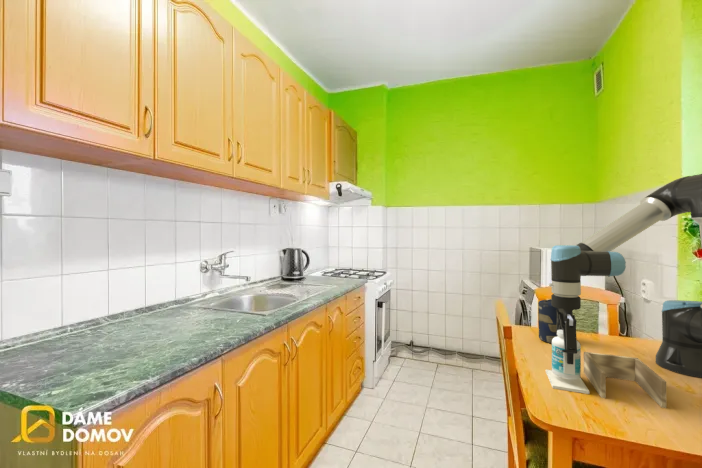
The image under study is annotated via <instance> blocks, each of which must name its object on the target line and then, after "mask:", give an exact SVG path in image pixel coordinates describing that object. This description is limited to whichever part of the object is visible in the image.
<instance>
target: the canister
mask: <svg viewBox="0 0 702 468" xmlns="http://www.w3.org/2000/svg"><path fill="white" fill-rule="evenodd" d="M537 306H538V308H537V309H538V312H537V313H538V321H537V322H538V338H539V339H540V340H541V341H543V342H545V343H549V344H550V343H551V344H552V339H553V338H554V337H556V328H557V311H556V310H557V309H559V308H555V307H553V306H552V305H551V298H550V299H542V300H539V301H538V305H537Z"/></svg>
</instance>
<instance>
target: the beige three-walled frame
mask: <svg viewBox="0 0 702 468" xmlns="http://www.w3.org/2000/svg"><path fill="white" fill-rule="evenodd" d="M583 374H584V375H585V377H586V378H587V380H588V381H589V382H590V384H591V385H592V387H593V388H594V389H595V391H596V393H597V394H598V395H599V396H600V398H602V399H607V398H606V397H607V396H606V394H607V391H606V389H607V388H606V387H607V386H606V383H607V382H606V378H610V379H617V380H623V381H624V380H626V381H632V382H635V383H637V385H638V386H639V387H640V388H641V389H642V390H644V392H645V393H646V394H647V395H649V397H650V398H651V399H653V401H654V402H656V404H657V405H659V406H660V408H663V409H667V381H666V380H665V379H663V378H662V376H660V375H659V374H657V372H655V371H654V370H653V369H651V368H650V367H649V366H648V365H647V364H646V363H644V362H643V361H642V360H640V359H639V357H631V356H624V355H616V354H615V355H614V354H607V353H598V352H591V351H590V352H589V351H583Z"/></svg>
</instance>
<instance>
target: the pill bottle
mask: <svg viewBox="0 0 702 468" xmlns="http://www.w3.org/2000/svg"><path fill="white" fill-rule="evenodd" d="M581 346H582V345H581V343H580V342H579V341H578V340H577V354H576V353H575V375H571V374H564V352H562V350H564V349H565V348H564V336H563V330H557V337H554V338H553V339H552V343H551V370H552V372H553V373H554V374H555V375H557V376H559V377H562V378H565V379H572V380H574V379H578V378H581V371H582V370H581V366H582V365H581V361H582V359H581V355H582V351H581V348H582V347H581ZM570 349H571V348H570Z"/></svg>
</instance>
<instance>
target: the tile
mask: <svg viewBox="0 0 702 468" xmlns="http://www.w3.org/2000/svg"><path fill="white" fill-rule="evenodd" d="M545 374H546V376H547V378H548V380H549V383H550V385H551V388H552V389H554V390H555V389H556V390H560V391H568V392H572V393H573V392H574V393H582V394H585V395H586V394H587V395H590V390H589V389H588V387H587V386H586V383H585V382H584V381H583V379H582V378H581V377H580V378H578V379H574V380H572V379H565V378H562V377H559V376H557V375H555V374H554V373H553V372H552V369H545Z"/></svg>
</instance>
